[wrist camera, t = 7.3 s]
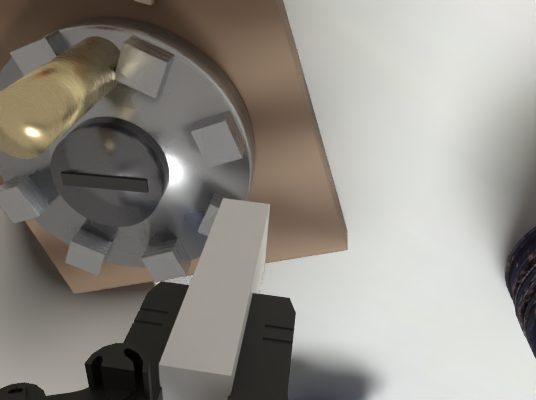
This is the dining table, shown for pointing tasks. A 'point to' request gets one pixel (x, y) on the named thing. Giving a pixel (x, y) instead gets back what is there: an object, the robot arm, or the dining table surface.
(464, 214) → the dining table surface
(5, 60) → the base plate
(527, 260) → the storage jar
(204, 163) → the crank wheel
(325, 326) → the dining table surface
